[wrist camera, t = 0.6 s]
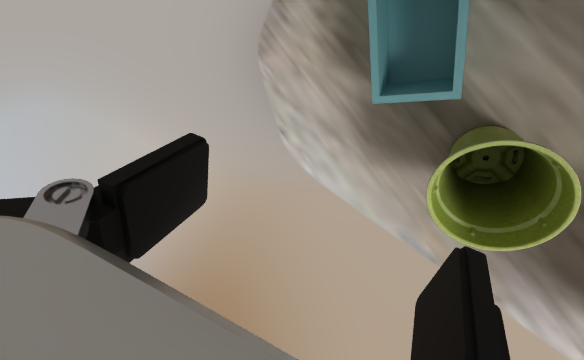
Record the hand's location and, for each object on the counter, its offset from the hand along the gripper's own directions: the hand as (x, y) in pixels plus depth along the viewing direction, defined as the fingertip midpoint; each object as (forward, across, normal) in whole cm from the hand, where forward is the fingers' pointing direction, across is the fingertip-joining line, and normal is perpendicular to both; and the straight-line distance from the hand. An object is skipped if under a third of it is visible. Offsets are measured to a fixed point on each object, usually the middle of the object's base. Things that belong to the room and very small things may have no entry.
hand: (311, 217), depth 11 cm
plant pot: (+23, -11, +4) cm, 26 cm away
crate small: (+24, 0, -5) cm, 24 cm away
